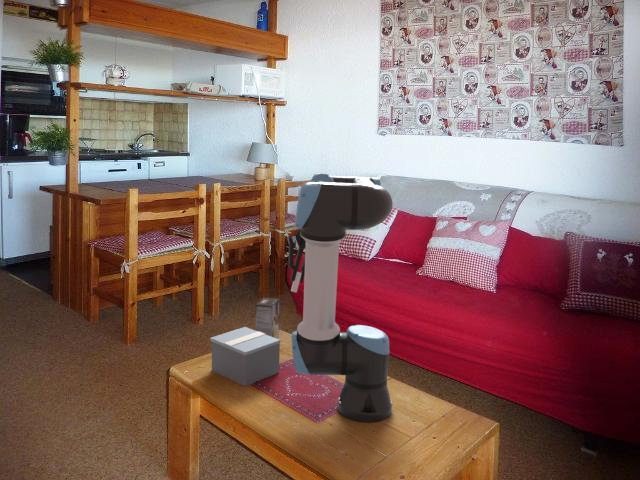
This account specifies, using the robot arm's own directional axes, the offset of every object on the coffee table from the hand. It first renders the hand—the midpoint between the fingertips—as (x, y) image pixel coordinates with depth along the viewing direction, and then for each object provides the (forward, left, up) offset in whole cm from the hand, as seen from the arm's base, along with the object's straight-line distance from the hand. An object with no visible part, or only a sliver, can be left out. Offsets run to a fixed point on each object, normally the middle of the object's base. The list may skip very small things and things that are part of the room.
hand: (293, 291), depth 197 cm
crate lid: (+5, +16, -14) cm, 22 cm away
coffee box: (+17, -5, -25) cm, 30 cm away
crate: (+5, +16, -24) cm, 29 cm away
